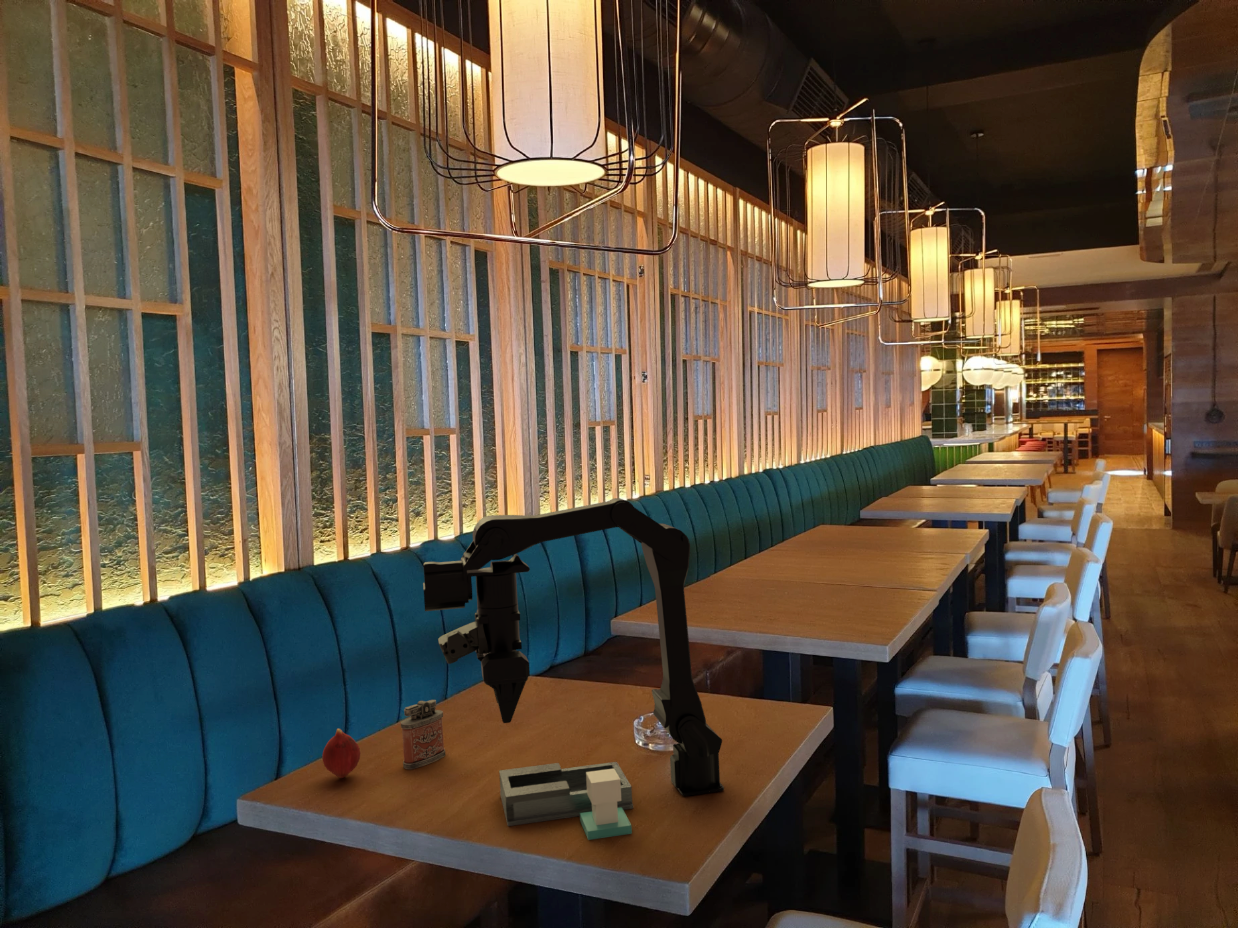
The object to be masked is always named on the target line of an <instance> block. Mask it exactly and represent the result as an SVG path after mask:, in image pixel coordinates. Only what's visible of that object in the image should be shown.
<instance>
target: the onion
mask: <svg viewBox="0 0 1238 928" xmlns="http://www.w3.org/2000/svg"><path fill="white" fill-rule="evenodd" d="M321 758H322V762H323V766H324V767H325V769H326V770H327V771H329V772H330V773H332V774H333V775H334V776H336V777H338V778H339V779H344V778H346V776H348V775H349V774H350V773H351V772H353V771H354V770H355V769H356V768H357V766H358V763H359V761H360V758H361V749H360V747H359V744H358V743H357V742H356V740H355V739H354V738H353V737H352V736H350V735H349V734H347V733H345V732H343V730H342V729H341V728H336V732H335V734H334V735H333V736H332V737H331V738H330V739H329V740H328V741H327V743H326V745H325V746H324V748H323V751H322V757H321Z"/></svg>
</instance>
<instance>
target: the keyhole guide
mask: <svg viewBox="0 0 1238 928" xmlns="http://www.w3.org/2000/svg"><path fill="white" fill-rule="evenodd" d="M606 769H615V771H616V773H617V774H618V776H619V778H620V783H621V801H617V808H620V807H622V809H623V811H625V810H626V811H627V810H633V809H634V804H633V789H632V788H633V787H632V785H631V783H630V782H629V780H628V778H627V777H626V774H625V773H624V772H623V770H622V768H621V767H620V765H619V762H617V761H612V762H611V761H610V762H605V763H597V764H589V765H581V766H574V767H565V768H561V765H560V763H559V762H555V763H547V764H541V765H539V764H538V765H532V766H524V767H517V768H516V767H515V768H507V769H500V770H499V787H500V791H499V793H500V794H499V795H500V799H501V805H502V808H503V811H504V817H505V820H506V825H507V827H513V826H520V825H527V824H533V823H541V822H542V823H543V822H547V821H555V820H561V819H569V818H575V817H580V813H584V812H592V803H591V801H590V799H589V796H588V794H587V783H586V772H591V771H599V770H606Z"/></svg>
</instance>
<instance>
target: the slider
mask: <svg viewBox="0 0 1238 928" xmlns="http://www.w3.org/2000/svg"><path fill="white" fill-rule="evenodd" d="M586 783H587V794H588V796H589V799H590V801H591V803H592V812H584V813H580V816H579V823H580V824H581V827H582V828H583V830H584V834H585V835H586V837H587V840H588V841H590V840H597V839H598V840H599V839H602V838H603V839H604V838H610V837H618V836H624V835H632V834H633V832H632V831H633V829H632V824H631V822H630V820H629V818H628V817H627V814H626V812H625V810H623V809H622V807H620V808H617V801H621V783H620V778H619V776H618V774H617V773H616V771H615V769H606V770H599V771H591V772H586Z"/></svg>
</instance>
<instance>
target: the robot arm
mask: <svg viewBox="0 0 1238 928" xmlns="http://www.w3.org/2000/svg"><path fill="white" fill-rule="evenodd" d="M614 528H619V529H620V530H622V531H623V532H624V533H626V534H627V535H629V536H630V537H631V538H632V539H634V540H635V541H637V542H638V543H640V544H641V549H642V553H643V557H644V560H645V565H646V567H647V570H648V572H649V576H650V578H651V580H652V583H653V585H654V591H655V600H656V601H655V603H656V611H657V613H656V615H657V623H658V633H659V645H660V655H661V667H662V681H661V685H660V688H652V689H651V695H652V699H653V702H654V703H653V704H654V708H653V713H652V714H653V717H655V718H656V719H657V720H658V722H659V723H660V725H661V727H663V729H664V730H665V731H666V732H667V734H668V735H669V736H670V738H672V739H673V740H674V741H675V742H676V743H673V744H672V749H673V751H672V752H673V754H672V755H670V757H669V760H670V763H669V764H670V765H669V766H670V782H671V784H672V785H673V786H674V788H676V789H677V790H678V792H679V794H680V795H681V796H684V797H686V796H687V797H688V796H694V795H696V796H697V795H701V794H709V793H715V792H716V793H717V792H723V791H725V786H724V785H723V784H722V783H721V777H720V773H721V772H720V755H719V753H720V750H721V747H722V743H723V739H722V738H721V736H719V735H718V734H717V733H716V732H715V731H714V729H712V727H710V725H709V724H708V723H707V719H706V716H705V712H704V711H705V710H704V708H703V704H702V701H701V697H700V696H699V693H698V691H697V688H696V686H695V685H696V684H695V683H694V682H695V681H694V679H693V673H692V672H693V671H692V660H691V650H690V642H689V641H690V640H689V630H688V629H689V628H688V618H687V608H686V607H687V606H686V597H685V596H686V594H685V583H686V579H687V575H688V571H689V568H690V555H691V543H690V539H689V538H688V536H687V535H686V534H685V532H683V531H682V530H681V529H678V528H676V527H673V526H672V525H668V524H665V523H659V522H657V521H656V520H654V519H652V518H651V517H649V516H648V515H646V514H645V513H643V512H642V511H640V510H639V509H638V508H637V507H635V506H634V504H632V503H631V502H630V501H628V500H625V499H623V498H620V497H617V498H616V497H614V498H611V499H610V500H608V501H602V502H597V503H592V504H588V505H582V506H576V507H571V508H566V509H561V510H556V511H550V512H545V513H540V514H535V515H534V514H533V515H531V514H530V515H525V514H524V515H520V514H492V515H491V514H490V515H486V516H483V517H481V518H480V519H479V520H478V521H477V523H476V524H475V526H474V527H473V531H472V542H470V544H469V546H468V547H467V549H466V551H465V552H463V555H462V557H461V558H460V560H455V561H454V560H452V561H451V560H450V561H442V562H440V561H425V562H424V563H423V576H424V579H423V581H424V582H423V583H422V585H423V587H422V588H423V600H424V601H423V603H424V612H433V611H434V612H435V611H442V610H444V611H445V610H455V609H456V610H457V609H466V604H469V603H470V602H469V601H473V582H472V581H473V580H472V577H475V587H476V604H477V605H476V606H477V609H476V612H475V613H474V621H472V622H470V623H467V624H464V625H463V626H460V627H458V628H456V629H454V630H451V631H449V632H447V633H446V634H443V635H441V636H439V638H437V640H438V645H439V648H440V650H441V652H442V654H443V656H444V658H445V661H446V663H447V664H448V665H451V664H453V663H456V662H458V660H459V659H461V658H463V657H466V656H468V655H470V654H471V653H474V652H475V654H476V659H477V660H478V661H479V662H480V666H481V676H482V680H483V683H484V684H485V685H486V686H489V687H491V689H492V690H493V692H494V697H495V700H496V703H497V706H498V708H499V714H500V717H501V721H502V723H503V724H509V723H511V722H512V719H513V717H514V714H515V711H516V708H517V707H518V703H519V701H520V698H521V695H522V693H523V690H524V688H525V685H526V683H527V681H528V680H529V677H530V676H531V675H530V673H531V672H530V662H529V660H528V658H527V657H528V656H526V654H524V653H522V651H520V650H523V648H522V647H523V645H522V641H521V638H520V623H519V622H520V621H521V612H520V611H519V603H518V586H517V585H518V584H517V574H519V573H528V572H530V570H531V569H530V568H531V567H529V565H528V564H527V563H525V562H524V561H523V560H522V559H521V558H520V556H519V555H518V554H519V553H522V552H524V551H525V550H528V549H530V548H532V547H533V546H536V545H539V544H541V543H544V542H549V541H550V542H551V541H554V540H560V539H563V538H569V537H575V536H580V535H584V534H589V533H593V532H600V531H605V530H609V529H614ZM508 557H509V558H510V557H511V558H510V559H509V560H504V559H505V558H508ZM489 563H490V566H489V567H484V566H486V565H488V564H489Z"/></svg>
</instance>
